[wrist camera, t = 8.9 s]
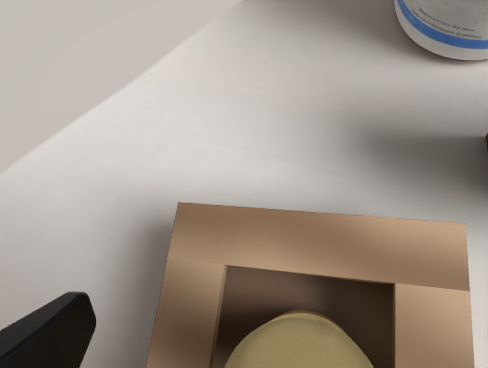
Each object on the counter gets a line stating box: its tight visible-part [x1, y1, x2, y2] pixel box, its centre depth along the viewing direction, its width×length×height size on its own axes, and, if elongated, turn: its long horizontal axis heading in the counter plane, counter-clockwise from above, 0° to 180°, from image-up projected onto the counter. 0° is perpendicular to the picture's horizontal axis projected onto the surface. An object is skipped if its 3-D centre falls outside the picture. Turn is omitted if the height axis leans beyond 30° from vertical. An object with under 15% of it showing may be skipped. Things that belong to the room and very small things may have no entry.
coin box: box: [146, 202, 474, 368], centre depth 18 cm, size 13×13×5 cm
